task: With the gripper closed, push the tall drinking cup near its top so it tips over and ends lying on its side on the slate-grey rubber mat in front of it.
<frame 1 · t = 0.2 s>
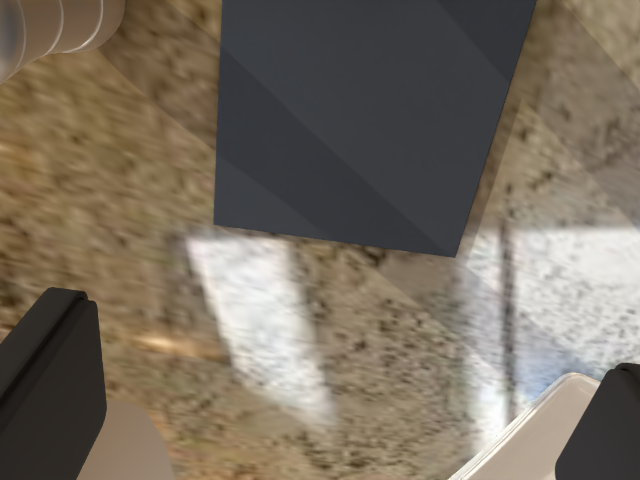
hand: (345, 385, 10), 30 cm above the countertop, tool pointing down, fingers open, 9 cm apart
mat: (356, 121, 38), on the countertop
square plate: (573, 472, 57), on the countertop
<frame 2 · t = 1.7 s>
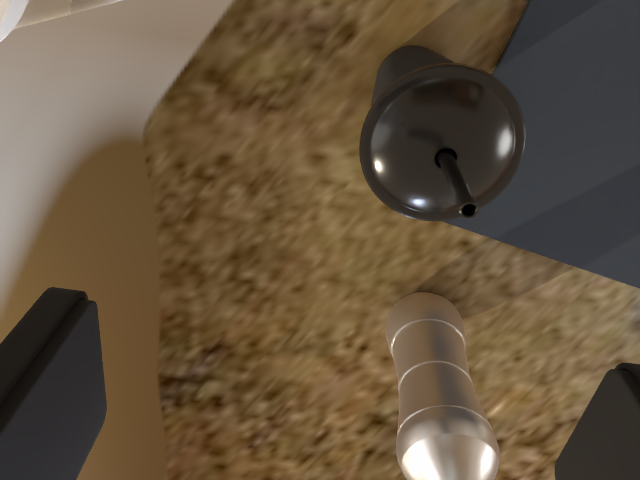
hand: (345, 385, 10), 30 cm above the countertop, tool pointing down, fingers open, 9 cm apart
mat: (608, 139, 38), on the countertop
drinking cup: (410, 80, 36), on the countertop
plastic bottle: (420, 310, 46), on the countertop
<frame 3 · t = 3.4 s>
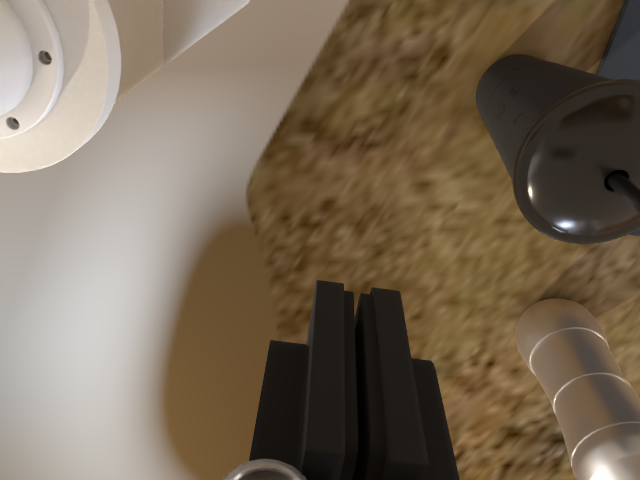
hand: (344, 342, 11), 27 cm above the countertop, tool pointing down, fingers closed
drinking cup: (511, 90, 35), on the countertop
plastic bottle: (546, 317, 44), on the countertop
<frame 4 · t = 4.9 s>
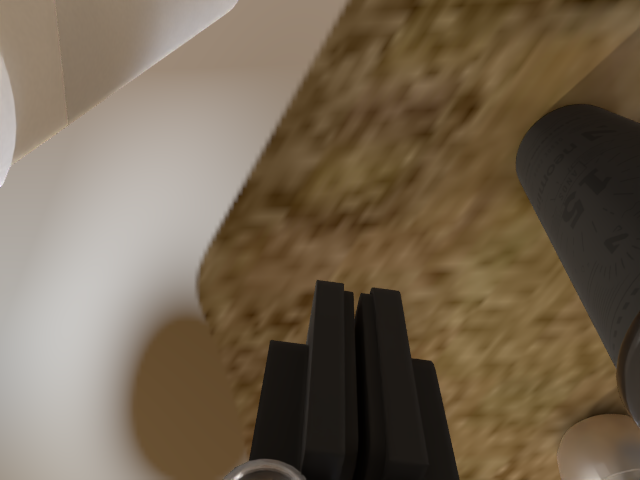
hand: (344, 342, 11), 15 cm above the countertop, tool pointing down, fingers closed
drinking cup: (566, 153, 24), on the countertop
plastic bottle: (597, 432, 34), on the countertop
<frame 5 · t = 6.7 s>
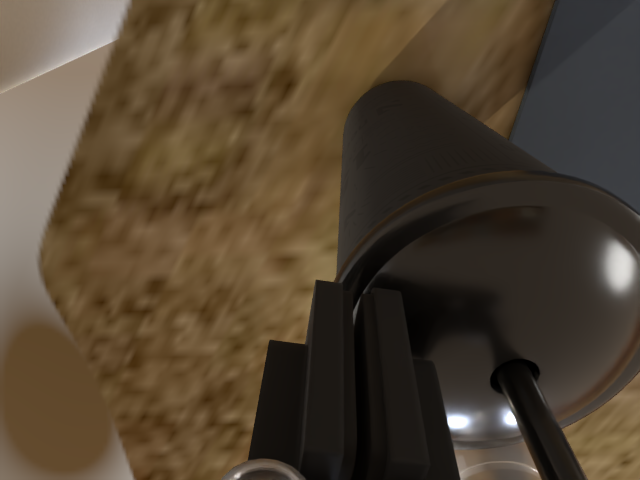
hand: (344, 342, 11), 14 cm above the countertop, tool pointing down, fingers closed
drinking cup: (396, 132, 23), on the countertop, touching gripper
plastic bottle: (476, 424, 33), on the countertop
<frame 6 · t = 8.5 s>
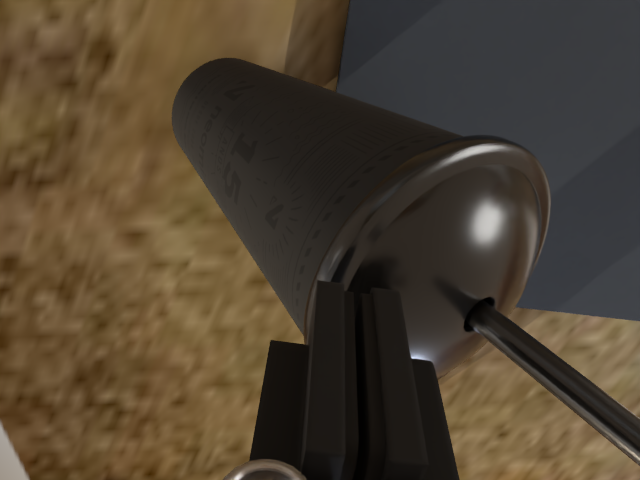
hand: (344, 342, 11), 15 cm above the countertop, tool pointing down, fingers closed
mat: (548, 127, 24), on the countertop
drinking cup: (224, 112, 23), point 1 cm above the countertop, touching gripper
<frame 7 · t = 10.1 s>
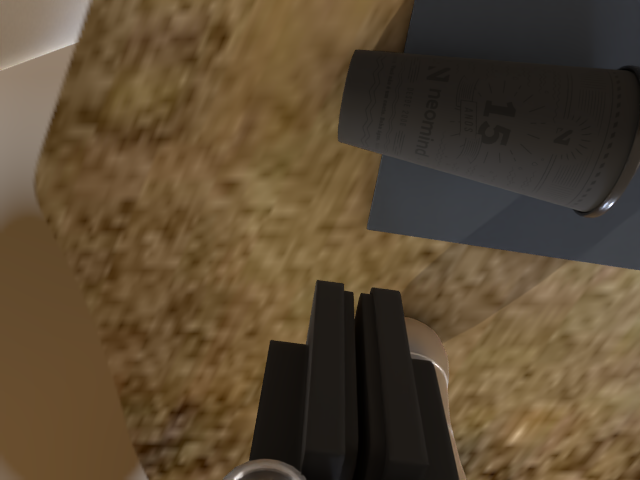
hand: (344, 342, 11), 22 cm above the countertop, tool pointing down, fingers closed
mat: (572, 100, 30), on the countertop
drinking cup: (343, 95, 28), point 2 cm above the countertop, touching mat
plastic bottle: (397, 337, 39), on the countertop
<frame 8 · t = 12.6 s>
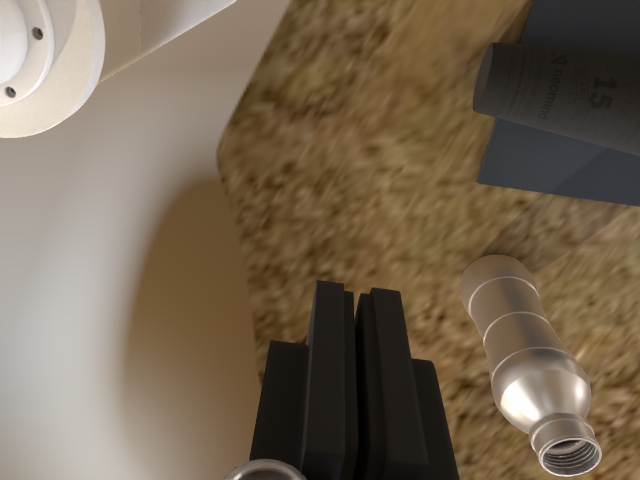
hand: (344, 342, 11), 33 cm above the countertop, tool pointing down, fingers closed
drinking cup: (479, 76, 38), point 2 cm above the countertop, touching mat
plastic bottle: (489, 273, 49), on the countertop
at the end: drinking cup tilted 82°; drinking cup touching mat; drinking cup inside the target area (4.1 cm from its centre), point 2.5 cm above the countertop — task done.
